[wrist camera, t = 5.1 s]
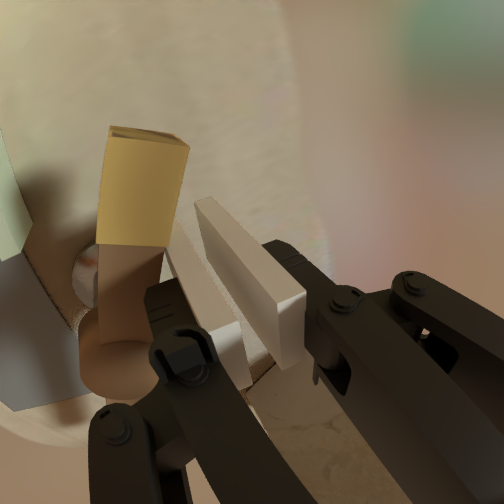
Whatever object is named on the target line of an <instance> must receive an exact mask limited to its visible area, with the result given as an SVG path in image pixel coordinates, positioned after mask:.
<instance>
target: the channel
mask: <svg viewBox="0 0 504 504" xmlns="http://www.w3.org/2000/svg"><path fill="white" fill-rule="evenodd" d="M32 225H33V222H32V219H31V217H30V215H29V212H28V210H27V208H26V205H25V203H24V200H23V198H22V195H21V193H20V190H19V187H18V185H17V182H16V179H15V176H14V174H13V171H12V168H11V165H10V162H9V158H8V155H7V152H6V149H5V145H4V142H3V138H2V134H1V131H0V259H1V261H4V260H6V259H8V258H10V257H12V256H15V255H17V254H19V253H21V250H22V248H23V246H24V243H25V241H26V238H27V236H28V234H29V232H30V229H31V227H32Z"/></svg>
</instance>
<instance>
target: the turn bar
mask: <svg viewBox="0 0 504 504" xmlns="http://www.w3.org/2000/svg"><path fill="white" fill-rule="evenodd" d="M189 150H190V147H189V146H188V145H187V144H186V143H184V142H183V141H182V140H181V139H180V138H178V137H177V136H176V135H175V134H170V133H164V132H157V131H150V130H143V129H135V128H127V127H118V126H110V128H109V133H108V139H107V144H106V150H105V156H104V163H103V170H102V177H101V185H100V194H99V204H98V215H97V230H96V244H98V265H97V303H98V306H96V307H94V308H93V309H91V310H90V311H89V312H87V313H86V314H85V316H84V317H83V318H82V320H81V322H80V324H79V329H78V345H79V369H80V378H81V380H82V382H83V384H84V385H85V386H86V387H87V388H88V389H89V390H90V391H91V392H93V393H95V394H97V395H99V396H101V397H104V398H106V404H107V405H109V404H112V403H126V404H128V405H130V406H132V405H133V404H135V403H136V402H138V401H139V400H140V399H142V398H143V397H145V396H146V395H147V394H148V393H149V392H150V391H152V390H153V388H154V387H155V385H156V384H157V383H158V380H159V377H158V376H157V374H156V373H155V371H154V370H153V368H152V367H151V365H150V363H149V357H148V351H149V349H150V346H151V344H152V342H153V341H154V339H153V335H152V332H151V328H150V324H149V321H148V317H147V313H146V309H145V305H144V301H143V300H144V296H145V293H146V290H147V288H148V287H151V286H154V285H156V284H159V281H160V274H161V268H162V262H163V255H164V250H165V247H169V242H170V237H171V232H172V226H173V221H174V216H175V211H176V207H177V202H178V197H179V193H180V188H181V184H182V179H183V175H184V171H185V167H186V162H187V158H188V154H189Z"/></svg>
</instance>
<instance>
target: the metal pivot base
mask: <svg viewBox="0 0 504 504" xmlns="http://www.w3.org/2000/svg"><path fill="white" fill-rule="evenodd" d="M97 265H98V244H96V241H94V242H92V243H90V244H88V245H87V246H86V247H84V248H83V249H82V250H81V251H80V253H79V254H78V255H77V257H76V259H75V261H74V265H73V270H72V285H73V289H74V291H75V293H76V295H77V297H78V298H79V299H80V301H81V302H82V303H84V304H85V305H86V306H87V307H89V308H91V309H93V308H94V307H96V306H98V303H97Z"/></svg>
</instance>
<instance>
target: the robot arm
mask: <svg viewBox="0 0 504 504" xmlns="http://www.w3.org/2000/svg"><path fill="white" fill-rule="evenodd" d="M194 205H195V209H196V214H197V218H198V223H199V227H200V231H201V236H202V240H203V244H204V248H205V252H206V256H207V259H208V261H209V262H210V264H211V265H212V267H213V269H214V270H215V272H216V273H217V275H218V276H219V278H220V279H221V281H222V283H223V284H224V286H225V287H226V289H227V290H228V292H229V293H230V295H231V296H232V298H233V299H234V301H235V302H236V304H237V305H238V307H239V308H240V310H241V311H242V313H243V314H244V316H245V317H246V319H247V320H248V322H249V323H250V325H251V326H252V328H253V329H254V331H255V332H256V334H257V335H258V337H259V338H260V340H261V341H262V343H263V344H264V346H265V347H266V348H267V350H268V351H269V353H270V354H271V356H272V357H273V359H274V360H275V361H276V363H277V364H278V366H279V367H280V369H281V370H282V371H283V370H285V369H287V368H289V367H291V366H293V365H295V364H297V363H299V362H301V361H303V360H305V348H306V349H307V351H308V352H309V353H310V354H311V356H312V357H313V358H314V365H313V377H312V380H313V382H314V385H317V384H318V381H319V377H320V379H321V380H322V382H323V383H324V384H325V386H326V387H327V388H328V390H329V391H330V393H331V394H332V395H333V397H334V398H335V400H336V401H337V402H338V404H339V405H340V406H341V408H342V409H343V411H344V412H345V413H346V415H347V416H348V418H349V419H350V420H351V422H352V423H353V424H354V426H355V427H356V428H357V430H358V431H359V433H360V434H361V435H362V437H363V438H364V439H365V441H366V442H367V443H368V445H369V446H370V447H371V449H372V450H373V452H374V453H375V454H376V456H377V457H378V458H379V460H380V461H381V462H382V464H383V465H384V466H385V468H386V469H387V470H388V472H389V473H390V474H391V476H392V477H393V478H394V480H395V481H396V482H397V484H398V485H399V486H400V488H401V489H402V490H403V492H404V493H405V494H406V496H407V497H408V498H409V499H410V501H411V502H412V503H413V504H504V319H503V318H501V317H499V316H497V315H496V314H494V313H493V312H491V311H489V310H488V309H486V308H484V307H482V306H481V305H479V304H477V303H476V302H474V301H472V300H470V299H469V298H467V297H465V296H463V295H462V294H460V293H458V292H456V291H455V290H453V289H451V288H449V287H447V286H446V285H444V284H442V283H440V282H438V281H436V280H435V279H432V278H431V277H429V276H427V275H425V274H423V273H420V272H416V271H405V272H401V273H399V274H398V275H396V276H395V278H394V280H393V281H392V286H391V289H386V290H382V291H377V292H373V293H366V294H365V293H364V292H362V291H361V290H359V289H357V288H355V287H351V286H348V285H336V284H335V283H334V282H333V281H331V280H330V279H329V278H328V277H327V276H326V275H325V274H324V273H322V272H321V271H320V270H319V269H318V268H317V267H316V266H314V265H313V264H312V263H311V262H310V261H308V260H307V259H306V258H305V257H304V256H303V255H302V254H300V252H298V251H297V250H296V249H295V248H294V247H293V246H291V245H290V244H288V243H285V242H282V241H280V240H277V239H276V240H274V241H271V242H268V243H265V244H263V245H260V244H259V243H258V242H257V241H256V240H255V239H254V238H253V237H252V236H251V235H250V234H249V233H248V232H247V231H246V230H245V229H244V228H243V227H242V226H241V225H240V224H239V223H238V222H237V221H236V220H235V219H234V218H233V217H232V216H231V215H230V214H229V213H228V212H227V211H226V210H225V209H224V208H223V207H222V206H221V205H220V204H219V203H218V202H217V201H216V200H215V199H214V198H213V197H212V196H211V197H208V198H205V199H202V200H198V201H195V202H194ZM164 251H165V255H166V258H167V261H168V264H169V267H170V270H171V272H172V275H173V277H174V278H173V279H170V280H167V281H164V282H162V283H159V284H156V285H154V286H151V287H148V288H147V290H146V293H145V296H144V300H143V301H144V305H145V309H146V313H147V317H148V321H149V324H150V328H151V332H152V335H153V339H154V341H153V342H152V344H151V346H150V349H149V351H148V357H149V363H150V365H151V367H152V368H153V370H154V371H155V373H156V374H157V376H158V377H159V380H158V383H157V384H156V385H155V387H154V388H153V390H152V391H150V392H149V393H148V394H147V395H146V396H145V397H143V398H142V399H140V400H139V401H138V402H136V403H135V404H133V405H132V406H130V405H128V404H126V403H112V404H109V405H106V406H104V407H103V408H101V409H100V410H99V411H97V412H96V414H95V415H94V417H93V418H92V420H91V422H90V427H89V435H88V468H89V491H90V504H193V501H192V496H191V491H190V487H189V482H188V477H187V472H186V466H185V465H186V464H187V463H188V462H190V461H191V460H193V459H194V458H195V457H196V459H197V461H198V463H199V465H200V467H201V469H202V471H203V473H204V475H205V477H206V478H207V481H208V482H209V484H210V486H211V488H212V490H213V491H214V493H215V495H216V497H217V498H218V500H219V502H220V504H318V503H317V501H316V500H315V499H314V498H313V496H312V495H311V494H310V493H309V491H308V490H307V489H306V487H305V486H304V485H303V484H302V482H301V481H300V480H299V478H298V477H297V476H296V474H295V473H294V472H293V470H292V469H291V468H290V466H289V465H288V463H287V462H286V461H285V459H284V458H283V457H282V455H281V454H280V452H279V451H278V450H277V448H276V447H275V445H274V444H273V442H272V441H271V440H270V438H269V437H268V435H267V434H266V433H265V431H264V429H263V428H262V426H261V425H260V423H259V422H258V420H257V419H256V417H255V416H254V414H253V413H252V411H251V410H250V408H249V407H248V405H247V404H246V402H245V401H244V399H243V397H242V396H241V394H240V393H239V391H240V390H242V389H245V388H247V387H249V386H251V385H253V382H252V378H251V374H250V369H249V365H248V361H247V356H246V352H245V347H244V343H243V338H242V334H241V329H240V325H239V320H238V319H237V317H236V316H235V314H234V312H233V311H232V309H231V308H230V306H229V304H228V303H227V301H226V300H225V298H224V296H223V295H222V293H221V292H220V290H219V288H218V287H217V285H216V283H215V282H214V280H213V279H212V277H211V275H210V274H209V272H208V270H207V269H206V267H205V265H204V264H203V262H202V260H201V259H200V257H199V255H198V254H197V252H196V250H195V249H194V247H193V245H192V243H191V242H190V240H189V238H188V237H187V235H186V233H185V231H184V230H183V228H182V226H181V225H180V223H179V221H178V219H177V218H176V216H174V221H173V226H172V232H171V237H170V242H169V247H165V250H164ZM424 328H425V329H426V330H428V331H429V332H430V333H429V334H427V335H423V334H421V333H422V331H423V329H424Z"/></svg>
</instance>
